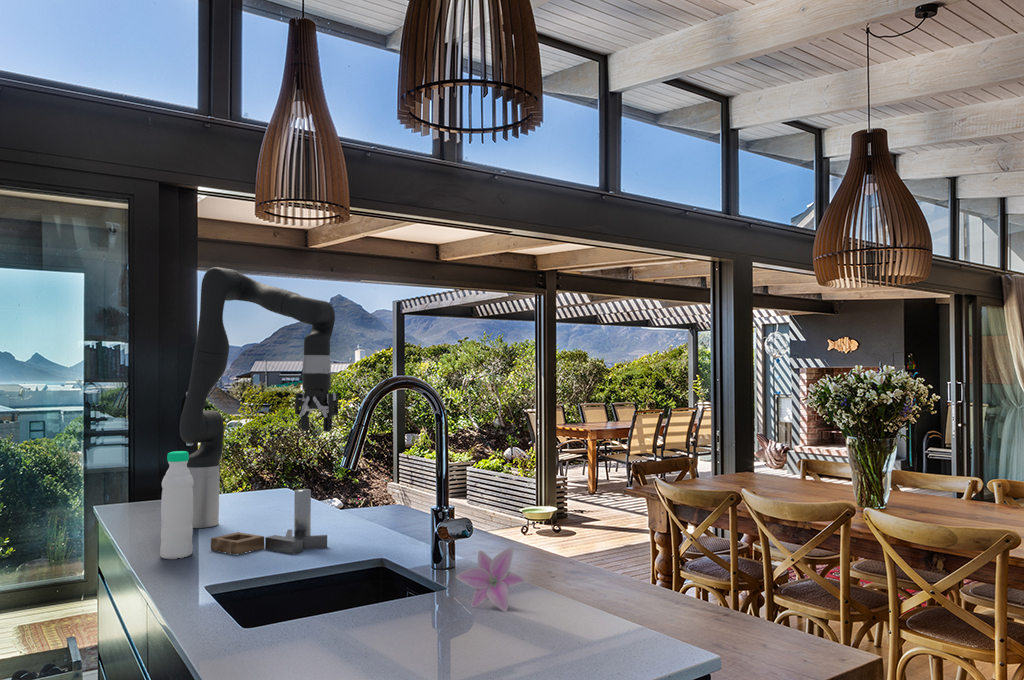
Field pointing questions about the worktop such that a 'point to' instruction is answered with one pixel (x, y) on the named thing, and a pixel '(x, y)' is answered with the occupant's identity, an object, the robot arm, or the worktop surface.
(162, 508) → the water bottle
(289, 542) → the v block
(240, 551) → the brown wooden open box
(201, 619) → the worktop surface
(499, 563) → the lily
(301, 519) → the gray rectangular bar
